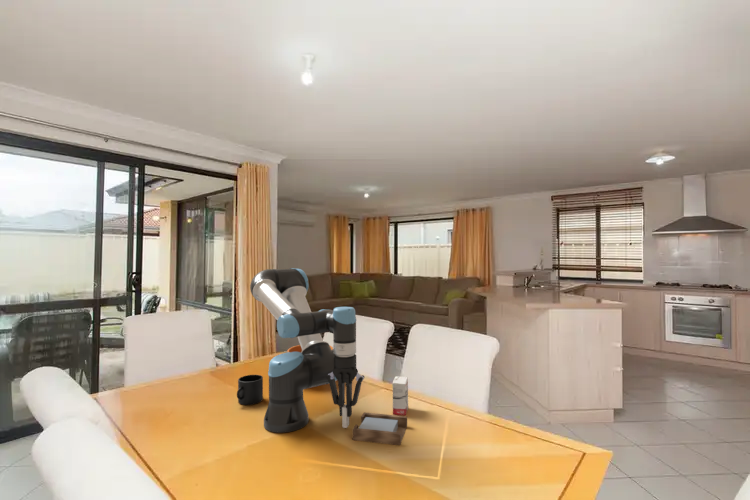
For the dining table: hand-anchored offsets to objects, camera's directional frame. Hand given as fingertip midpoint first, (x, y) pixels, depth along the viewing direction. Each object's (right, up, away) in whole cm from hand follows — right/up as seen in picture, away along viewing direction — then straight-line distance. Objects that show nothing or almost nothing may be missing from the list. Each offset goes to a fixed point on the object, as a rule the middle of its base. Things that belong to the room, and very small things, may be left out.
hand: (345, 425), depth 125 cm
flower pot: (-20, -3, +51) cm, 54 cm away
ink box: (+19, -2, +15) cm, 24 cm away
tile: (+11, -1, -3) cm, 11 cm away
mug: (-41, -3, +26) cm, 49 cm away
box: (+12, -2, -3) cm, 12 cm away
